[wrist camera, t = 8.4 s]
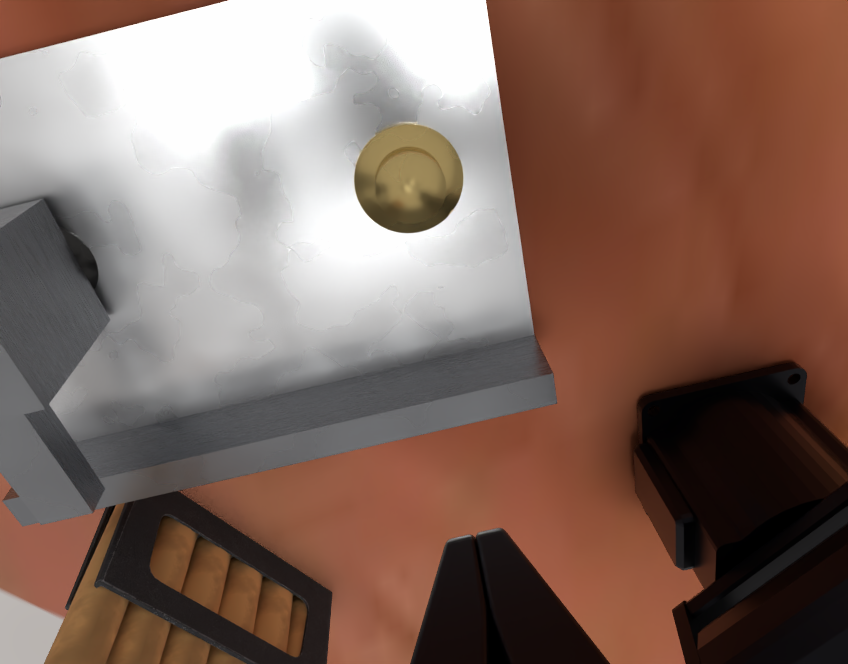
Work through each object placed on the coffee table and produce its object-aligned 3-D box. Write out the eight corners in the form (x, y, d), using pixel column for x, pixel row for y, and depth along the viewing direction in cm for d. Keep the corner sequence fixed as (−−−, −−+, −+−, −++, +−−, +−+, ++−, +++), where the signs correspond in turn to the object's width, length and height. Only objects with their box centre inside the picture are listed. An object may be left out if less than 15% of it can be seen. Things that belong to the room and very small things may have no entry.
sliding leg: (43, 198, 17) (-70, 276, 13) (167, 422, 21) (115, 541, 17) (-93, 232, 17) (-253, 320, 13) (56, 448, 21) (-24, 573, 17)
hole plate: (470, -60, 16) (494, -69, 13) (531, 348, 23) (557, 403, 20) (-178, 104, 17) (-293, 131, 14) (65, 457, 23) (22, 526, 20)
